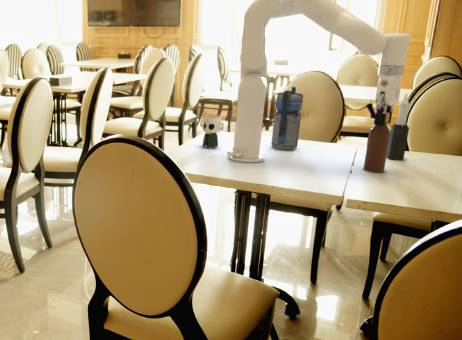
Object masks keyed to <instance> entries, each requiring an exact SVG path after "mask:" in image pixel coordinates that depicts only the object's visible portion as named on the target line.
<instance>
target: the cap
mask: <svg viewBox="0 0 462 340" xmlns="http://www.w3.org/2000/svg"><path fill="white" fill-rule="evenodd" d="M385 114H386V119H385V123H386V122H388V121H389V116H390V113H389V112H385Z"/></svg>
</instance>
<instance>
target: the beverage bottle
mask: <svg viewBox="0 0 462 340" xmlns="http://www.w3.org/2000/svg"><path fill="white" fill-rule="evenodd" d="M303 103H304V94H303V93H299V92H297V88H296V86H291V90H289V89H286V90H284V91H283V92H278V93H277V95H276V99H275V103H274V104H275V105H274V106H275V108H276V111H275V112H274V116H273V117H274V118H273V125H272V135H271V143H270V144H271V146H272V148H274V149H276V150H281V151H293V150H296V149H297V147H298V145H299V144H298V143H299V136H300V135H299V134H300V127H301V119H302V113H301V112H300V111H301V110H302V109H303V105H304V104H303Z"/></svg>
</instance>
